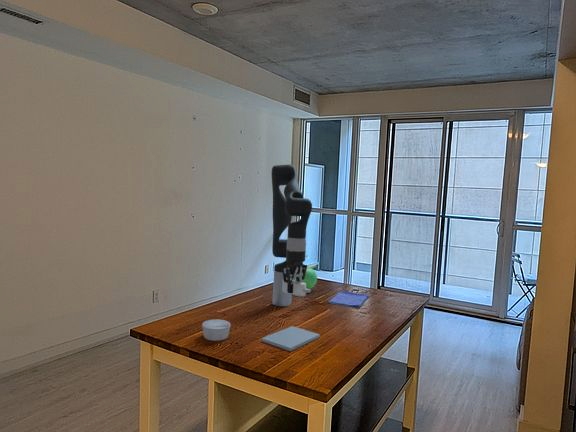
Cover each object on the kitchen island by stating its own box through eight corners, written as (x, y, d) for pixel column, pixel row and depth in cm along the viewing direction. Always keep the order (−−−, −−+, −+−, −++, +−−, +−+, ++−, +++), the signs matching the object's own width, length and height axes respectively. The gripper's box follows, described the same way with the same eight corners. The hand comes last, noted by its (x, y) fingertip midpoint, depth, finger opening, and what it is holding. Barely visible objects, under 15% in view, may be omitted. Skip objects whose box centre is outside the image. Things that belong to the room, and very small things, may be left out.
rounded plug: (286, 289, 173) (287, 278, 173) (312, 295, 165) (313, 284, 165) (280, 291, 169) (280, 280, 169) (306, 297, 162) (306, 286, 161)
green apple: (283, 291, 244) (284, 266, 243) (288, 284, 260) (289, 260, 259) (314, 294, 241) (316, 268, 240) (317, 287, 258) (319, 263, 256)
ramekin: (217, 344, 160) (217, 330, 160) (195, 337, 166) (195, 324, 166) (235, 336, 170) (236, 323, 169) (214, 329, 176) (215, 317, 175)
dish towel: (369, 298, 239) (369, 293, 239) (359, 309, 218) (360, 304, 217) (339, 294, 246) (339, 289, 246) (327, 304, 224) (327, 299, 224)
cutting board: (292, 328, 182) (292, 326, 181) (319, 337, 173) (319, 334, 173) (261, 341, 166) (261, 338, 166) (290, 351, 157) (290, 348, 157)
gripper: (298, 246, 175) (296, 287, 176) (277, 249, 163) (275, 293, 165) (314, 248, 170) (311, 290, 171) (293, 252, 159) (290, 297, 160)
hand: (293, 291), depth 168 cm, fingers closed on rounded plug, 4 cm apart
